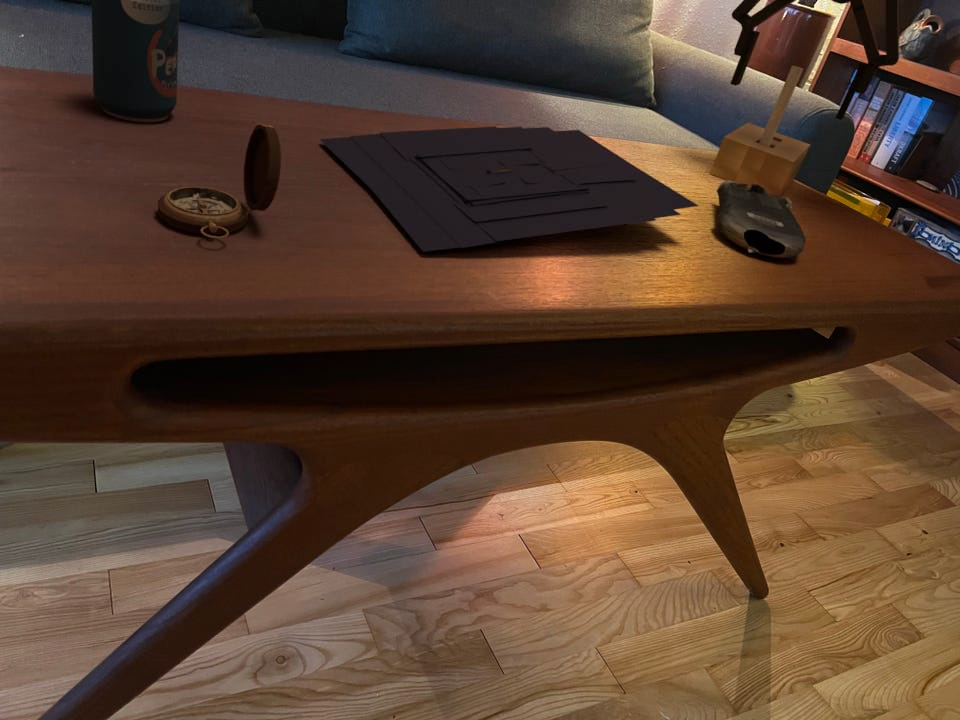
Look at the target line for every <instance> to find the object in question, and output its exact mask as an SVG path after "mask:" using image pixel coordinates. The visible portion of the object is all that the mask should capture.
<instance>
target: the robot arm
mask: <svg viewBox="0 0 960 720" xmlns="http://www.w3.org/2000/svg"><path fill="white" fill-rule="evenodd" d="M796 1H797V0H773V1H772V2H770V3H768V4H767V5H766V6H764V7H763V8H761V9H760V10H758V11H757V12H755V13H754V14H752V15H750V14H749V13H750V12H751V11H753V9H754V8H755V7H756V6H757V5H758V4H759V3H760V2H761V0H742V1H741V2H740V3H739V4H738V5H737V6H736V8H734V10H733V11H732V12H731V18H732V19H733V20H734V21H736V22H737V23H738V24H740V26H741V31H740V34H739V36H738V39H737V41H736V45H735V47H734V50H733V55H735V56H738V57H739V59H738V62H737V64H736V66H735V70H734V72H733V75H732V78H731V81H730V83H729V84H730V85H732V86H735V87H737V86H739V85H741V82H742V81H743V78H744V75H745V73H746V70H747V67H748V65H749V62H750V59H751V57H752V54H753V52H754V49H755V46H756V44H757V42H758V39H759V36H760V34H761V32H760V31H757V30H755V29H756V28H757V27H759V26H760V25H761V24H763V23H764V22H766V21H767V20H769V19H771V18H772V17H773V16H775V15H776V14H778V13H779V12H781V11H783V10H784V9H786V8H787V7H788V6H790V5H792V4H793V3H794V2H796ZM831 2H833V3H836V4H840V5H845V4H848V3H850V6H851V10H852V12H853V15H854V20H855V22H856V25H857V29H858V32H859V36H860V39H861V43H862V45H863V49H864V53H865V56H866V59H867V63H865V62H861V63H860V64H859V66H858V68H857V70H856V72H855V74H854V76H853V78H852V81H851V83H850V84H849V87H848V89H847V92H846V94H845V96H844V98H843V100H842V103H841V105H840V106H839V109H838V112H837V113H836V115H835V119H837V120H840V121H842V120H843V119H844V118H845V115H846V114H847V112H848V109H849V107H850V105H851V103H852V101H853V98H854V96H855V94H856V93H857V94H860V95H864V94H865V93H866V92H867V90H868V89H869V87H870V85H871V83H872V80H873V78H874V76H875V74H876V72H877V70H878V69H879V68H881V67H888V66H889V67H891V66H895V65H897V63H898V62H899V60H900V36H899V35H900V33H899V32H900V29H899V28H900V27H899V26H900V25H899V0H885V42H886V43H885V51H886V53H885V54H880V51H879V47H878V44H877V43H878V42H877V39H876V36H875V33H874V30H873V26H872V23H871V19H870V16H869V13H868V9H867V5H866V1H865V0H831Z"/></svg>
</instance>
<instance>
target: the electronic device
mask: <svg viewBox="0 0 960 720" xmlns="http://www.w3.org/2000/svg"><path fill="white" fill-rule="evenodd" d="M746 186H748V184H745V183H736V182H732V181H730V180H725V181H722V182H721V184H720V185H719V186H718V188H717V189H716V193H717V196H718V204H719V205H718V208H719V213H718V215H717V228H718V230H719V232H720V233H721V234H722V235H723V236H724V237H725V238H726V239H727V240H728V241H729V242H731V243H733V244H734V245H736V246H738V247H739V248H741V249H743V250H746V251H748V253H749V254H750V253H754V254H757V255H761V256H763V257H764V256H765V257H768V258H775V259H789V258H793V257H797V256H798V255H800V254H801V253H802V252H803V251H804V248H805V244H806V237H805V234H804V231H803V230H802V227H801V225H800V224H799V222H798V221H797V218H796V217H795V215H794V214H793V212H792V210H791V209H792V208H793V206H792V204H793V202H792V200H791V199H789V198H788V197H786V196H781V195H780V196H777V195H773V194H769V193H767V189H766V188H764V187H762V186H760V185H758V184H752V186H751V188H746Z"/></svg>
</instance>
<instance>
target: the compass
mask: <svg viewBox="0 0 960 720" xmlns="http://www.w3.org/2000/svg"><path fill="white" fill-rule="evenodd" d="M246 146H247V147H246V151H245V155H244V156H245V157H244V163H243V164H244V165H243V179H242V180H243V194H244V199H245V203H244V204H243V203H242V202H240V201H239V200H237V199H236V197H234V196H233V195H231V194H230V193H227V192H225V191H222V190H220V189H216V188H212V187H206V186H183V187H178V188H175V189H173V190H171V191H169V192H168V193H166V194H164V195H162V196H161V197H160V198H159V199H158V200H157V206H156V207H155V212H156V213H157V215H158V216H159V217H160V218H161V220H163V221H164V222H165V223H167V224H168V225H170V226H171V227H173V228H176V229H179V230H181V231H185V232H189V233H192V234H200V235H202V236H204V237H207V238H210V239H217V240H220V239H224V238H225V239H226V238H227V237H228V236H229V235H230V233H233V232H236V231H238V230H239V229H241V228H242V227H244V226H245V225H246V223H247V221H248V218H249V214H251V213H253V211H260V212H265V211H266V210H267V209H268V208H269V207H270V206H271V205H272V203H273V201H274V199H275V196H276V194H277V191H278V186H279V182H280V177H281V168H282V149H281V142H280V137H279V134H278V133H277V130H276V128H275V127H274V126H273V125H272V124H265V123H256V126H255V127H254V128H253V130H252V132H251V134H250V136H249V140H248V143H247V145H246ZM216 235H217V236H216ZM218 235H221V236H218Z"/></svg>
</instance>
